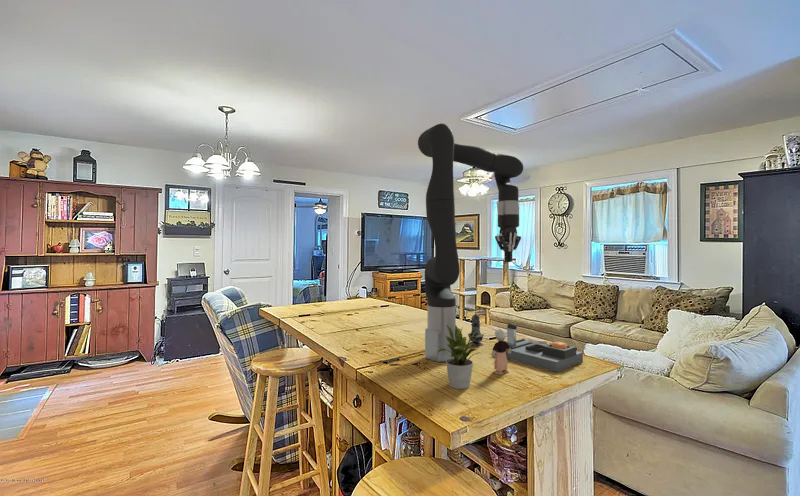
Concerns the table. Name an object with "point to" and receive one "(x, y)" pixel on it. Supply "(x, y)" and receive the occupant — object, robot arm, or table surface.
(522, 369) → the table surface
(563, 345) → the push button
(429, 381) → the table surface
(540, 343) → the rocker switch
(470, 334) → the dark grey ornate statuette
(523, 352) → the control panel
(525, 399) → the table surface
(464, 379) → the house plant
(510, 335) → the slide lever
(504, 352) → the grandmother figurine
